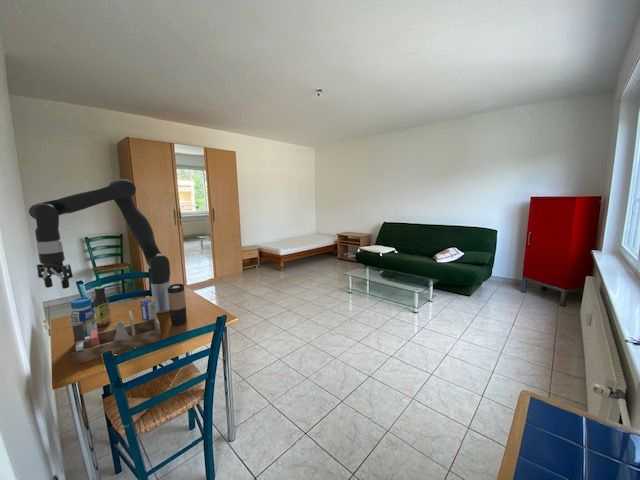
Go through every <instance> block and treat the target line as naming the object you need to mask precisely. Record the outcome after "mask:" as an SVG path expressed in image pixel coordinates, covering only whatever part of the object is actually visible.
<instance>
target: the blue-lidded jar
mask: <svg viewBox="0 0 640 480" xmlns="http://www.w3.org/2000/svg"><path fill="white" fill-rule="evenodd" d="M70 307H71V309H72V312H71V314H70V318H71V320H70V322H71V325H72V326H73V323H78V322H82V321H83V327H84V333H85V336H87V335H91V330H95V329H97V330H98V326H97V325H96V315H95V314H94V313H95V311H94V307H92V299H91V297H89V296H88V297H87V296H86V297H84V296H83V297H78V298H75V299H72V301H71V300H70Z"/></svg>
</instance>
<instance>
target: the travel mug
mask: <svg viewBox="0 0 640 480" xmlns="http://www.w3.org/2000/svg"><path fill="white" fill-rule="evenodd" d="M184 285H185V284H183V283H175V284H174V283H173V284H170V287H167V288H168V299H169V309H170V311H169V314H170V322H171V326H176V327H177V326H182V325H184V324H186V323H187V321H188V320H187V319H188V317H187V316H188V315H187V303H186V294H185V286H184Z"/></svg>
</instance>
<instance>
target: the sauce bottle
mask: <svg viewBox="0 0 640 480" xmlns="http://www.w3.org/2000/svg"><path fill="white" fill-rule="evenodd" d="M105 291H106V288H105V286H104V285H103V286H102V285H101V286H96V287H94V293H95V297H94V299H93V302H92V304H93V309H94V311H95V313H94V314H95V315H96V325H97V327H104V326H105V327H106V326H108V325H110V324H111V321H112V317H111V308H110V301H109V299H108V297H107V295H106V292H105Z"/></svg>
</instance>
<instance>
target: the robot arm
mask: <svg viewBox="0 0 640 480" xmlns="http://www.w3.org/2000/svg"><path fill="white" fill-rule="evenodd" d="M135 185H136V184H135V183H133V182H132V181H131V180H128V179H117V180H113V181H111V182H110V183H109V184H108V185H107V186H105V187H102V188H98V189H94V190H89V191H83V192H79V193H75V194H71V195H68V196H64V197H61V198H58V199H53V200H47V201H44V202H43V201H42V202H39V203H36V204H32V205H31V206H30V208H29V209H28V214H29V216H30V217H31V218H33V219H34V220H35V222H36V228H35V238H36V248H37V254H38V260H39V264H36V270H37V277H38V278H39V279H41V280H43V282H44V287H45V288H51V287H53V280H52V277H53V275H54V276H56V277H57V278H59V279H60V281H61V288H62V289H63V290H64V289H68V288H70V279H71V278H73V277H74V276H73V273H72V272H73V271H72V268H71V264H69V263H67V264H64V261H65V260H66V259H65V258H66V257H65V251H64V247H63V244H62V241H61V236H60V235H61V234H60V230H59V228H60V216H62V215H66V214H73V213H76V212H78V211H82V210H85V209H88V208H91V207H94V206H97V205H100V204H103V203H106V202H111V201H114V202H115V204H116V205H117V207H118V208H119V209H120V211H121V214H122V216H123V218H124V220H125V222H126V224H127V226H128V228H129V230H130V232H131V234H132V236H133V237H134V239H135V241H136V242H137V244H138V246H139V247H140V249H141V250H142V253H143V255H144V258H145V261H146V264H147V265H148V267H149V268H150V270H151V271H150V272H151V277H150V287H151V295H152V296H151V297H152V301H155V307H156V314H164V313H168V312H170V309H169V299H168V288H167V287H170V285H171V281H170V277H171V265H170V260H169V258H168V257H167V256H165V255H164V254H162V252H161V251H160V248H159V247H158V246H157V243H156V240H155V235H154V231H153V228H152V226H151V224H150V222H149V219H148V218H147V217H146V216H145V215H144V214H143V212H142V211H140V209H139V208H138V206H136V204H135V202H134V200H133V198H132V197H133V196H134V195H135V194H136V192H137V188H136V186H135Z"/></svg>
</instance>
